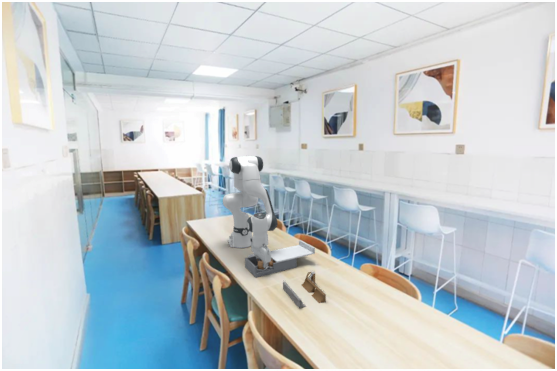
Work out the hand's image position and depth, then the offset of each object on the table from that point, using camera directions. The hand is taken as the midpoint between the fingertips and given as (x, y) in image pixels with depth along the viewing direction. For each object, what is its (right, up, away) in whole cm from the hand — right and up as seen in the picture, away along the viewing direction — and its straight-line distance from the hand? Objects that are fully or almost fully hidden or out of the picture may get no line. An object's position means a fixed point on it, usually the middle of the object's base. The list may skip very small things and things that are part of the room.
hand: (261, 264), depth 165 cm
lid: (+17, +4, +8) cm, 19 cm away
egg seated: (+7, -2, +3) cm, 8 cm away
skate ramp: (+28, -8, -25) cm, 38 cm away
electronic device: (-3, -2, +20) cm, 21 cm away
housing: (+5, -4, +3) cm, 7 cm away
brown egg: (0, -3, 0) cm, 3 cm away
